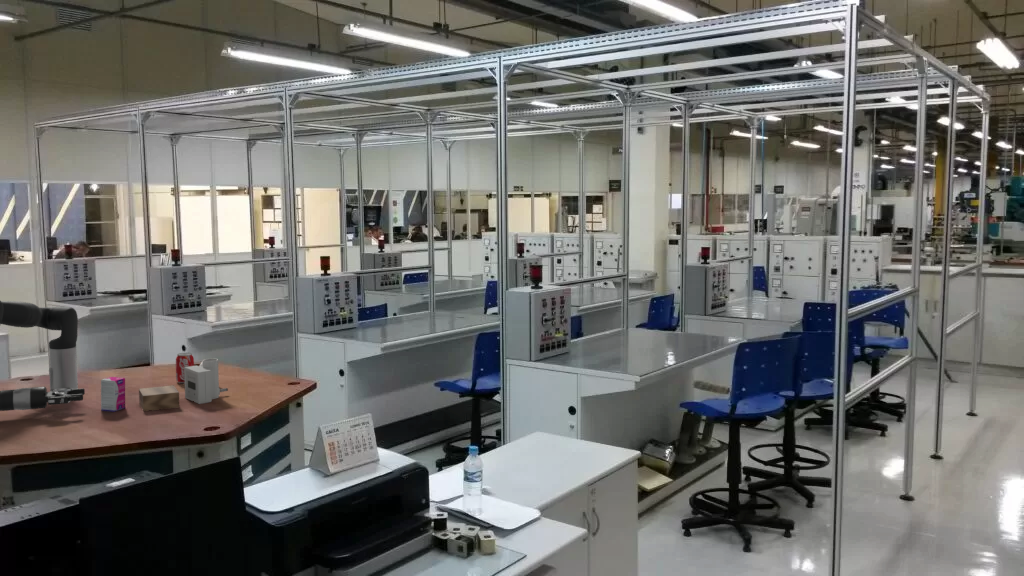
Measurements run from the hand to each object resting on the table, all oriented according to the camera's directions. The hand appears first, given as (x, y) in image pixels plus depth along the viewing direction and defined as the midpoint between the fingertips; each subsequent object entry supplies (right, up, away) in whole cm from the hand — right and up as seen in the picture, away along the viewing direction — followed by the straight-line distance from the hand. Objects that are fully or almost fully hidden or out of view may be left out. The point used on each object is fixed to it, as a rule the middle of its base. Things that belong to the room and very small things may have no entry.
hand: (83, 394), depth 267 cm
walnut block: (+21, -6, +12) cm, 25 cm away
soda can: (+15, -2, +48) cm, 51 cm away
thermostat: (+35, -5, +24) cm, 43 cm away
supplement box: (+8, -6, +5) cm, 11 cm away
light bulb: (+27, -3, +43) cm, 51 cm away
